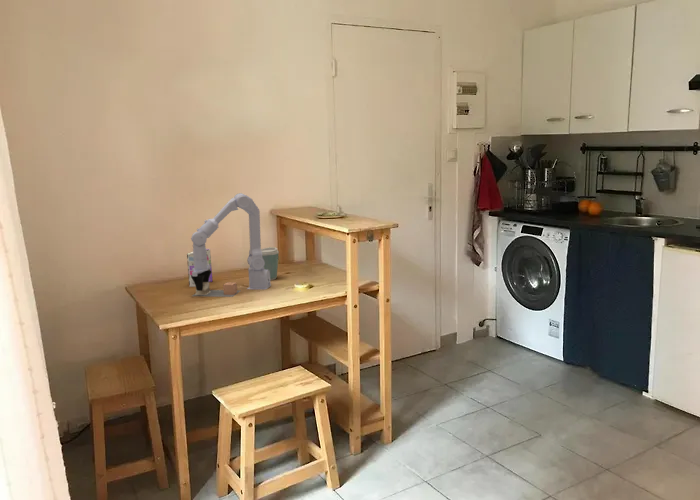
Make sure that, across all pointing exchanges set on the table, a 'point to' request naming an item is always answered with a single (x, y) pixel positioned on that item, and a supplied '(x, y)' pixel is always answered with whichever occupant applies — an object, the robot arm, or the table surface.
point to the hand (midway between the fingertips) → (202, 288)
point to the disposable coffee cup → (271, 260)
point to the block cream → (204, 289)
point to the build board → (216, 293)
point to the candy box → (191, 266)
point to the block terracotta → (230, 288)
